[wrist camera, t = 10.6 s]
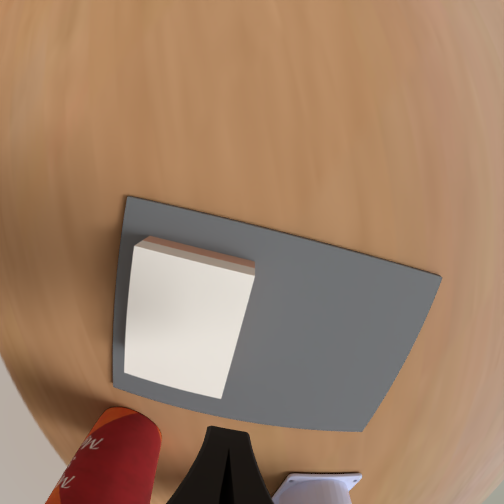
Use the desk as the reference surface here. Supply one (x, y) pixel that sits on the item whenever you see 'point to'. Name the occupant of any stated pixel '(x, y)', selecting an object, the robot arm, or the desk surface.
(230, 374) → the mat
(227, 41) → the desk surface
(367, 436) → the desk surface
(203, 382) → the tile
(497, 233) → the desk surface
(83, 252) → the desk surface
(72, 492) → the paper cup
